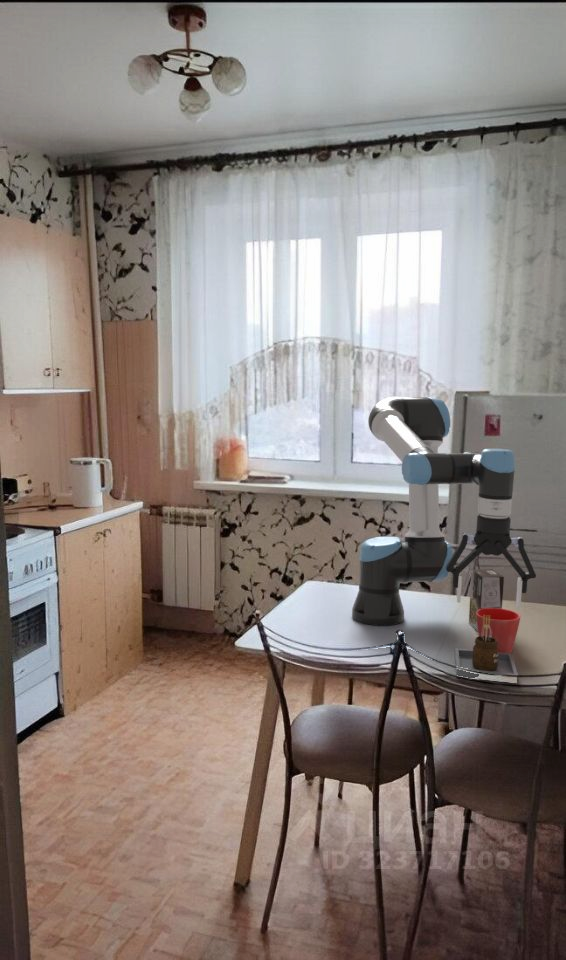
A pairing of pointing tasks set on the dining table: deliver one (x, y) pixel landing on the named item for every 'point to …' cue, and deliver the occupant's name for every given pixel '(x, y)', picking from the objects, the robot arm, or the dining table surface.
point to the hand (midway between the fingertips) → (488, 603)
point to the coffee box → (484, 592)
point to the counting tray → (465, 660)
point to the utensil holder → (485, 650)
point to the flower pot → (499, 626)
